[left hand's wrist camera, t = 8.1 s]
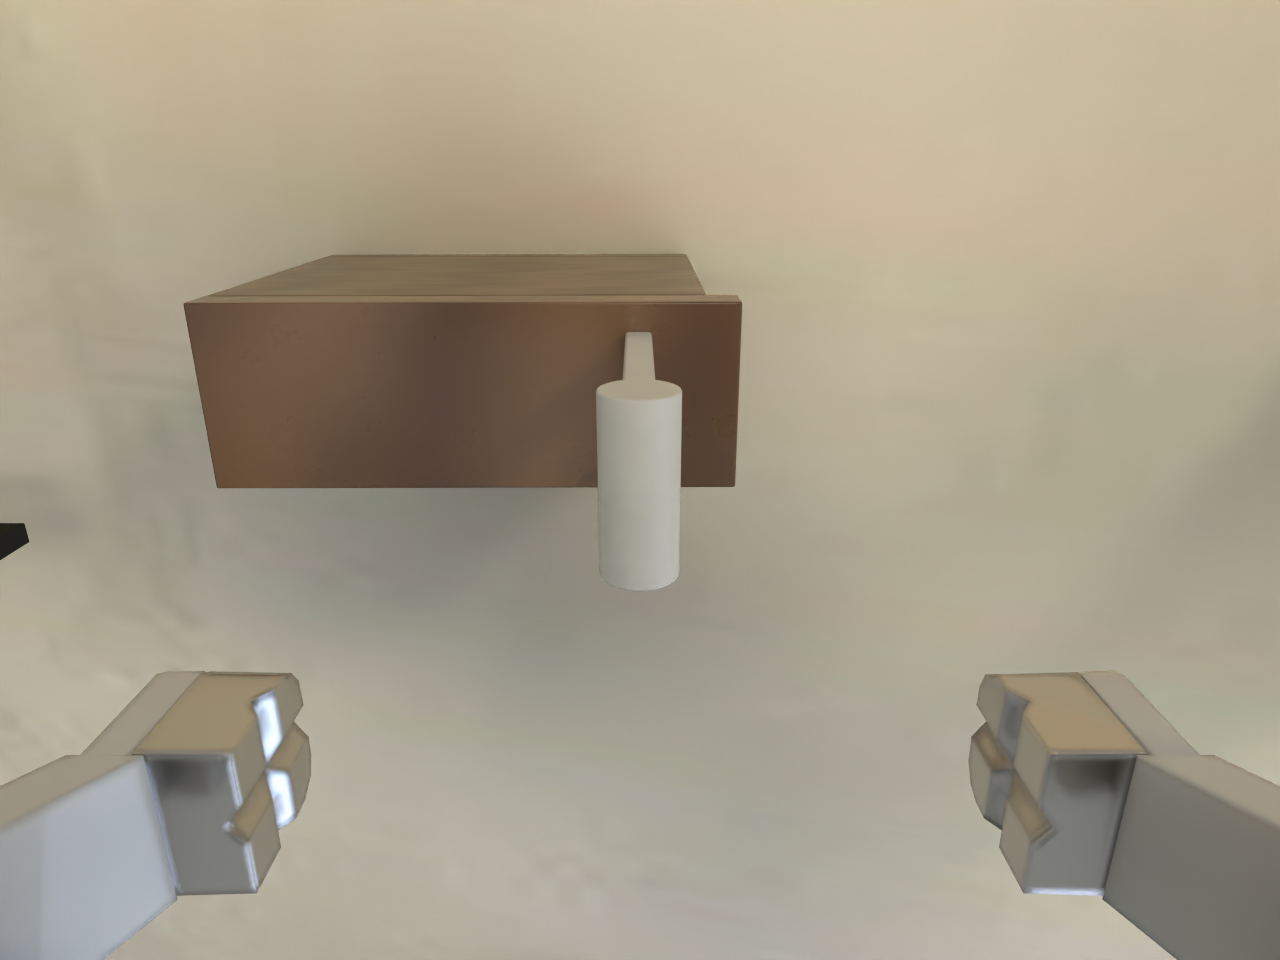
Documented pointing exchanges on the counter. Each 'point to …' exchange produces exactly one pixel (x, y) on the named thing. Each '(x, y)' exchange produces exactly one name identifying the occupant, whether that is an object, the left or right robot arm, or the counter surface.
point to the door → (481, 401)
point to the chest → (481, 276)
